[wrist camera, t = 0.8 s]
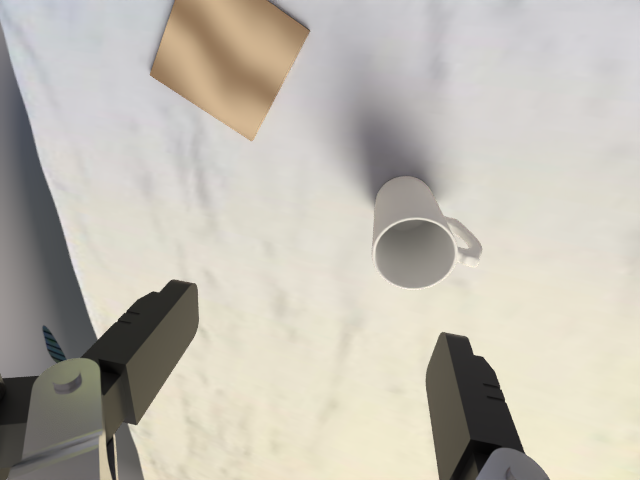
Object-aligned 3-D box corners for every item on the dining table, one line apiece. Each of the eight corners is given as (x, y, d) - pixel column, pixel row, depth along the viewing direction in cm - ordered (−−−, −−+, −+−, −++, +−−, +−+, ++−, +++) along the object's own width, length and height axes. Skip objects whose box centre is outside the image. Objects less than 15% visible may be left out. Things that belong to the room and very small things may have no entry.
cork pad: (196, -51, 32) (192, -53, 31) (310, 31, 34) (308, 30, 33) (152, 75, 37) (149, 75, 37) (253, 140, 39) (251, 141, 38)
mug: (366, 222, 42) (362, 279, 31) (381, 166, 38) (384, 208, 28) (452, 243, 41) (478, 307, 31) (475, 188, 38) (513, 238, 27)
